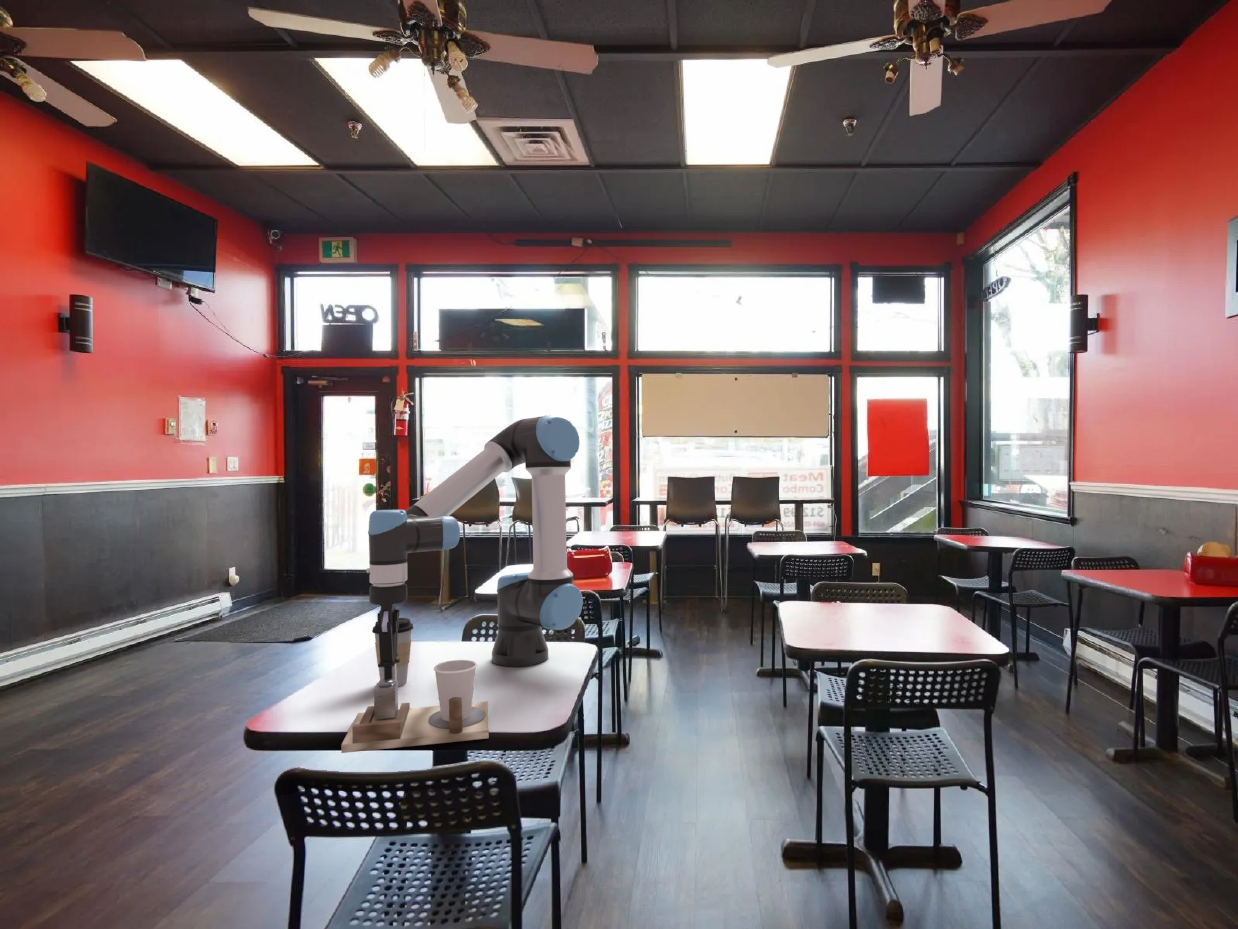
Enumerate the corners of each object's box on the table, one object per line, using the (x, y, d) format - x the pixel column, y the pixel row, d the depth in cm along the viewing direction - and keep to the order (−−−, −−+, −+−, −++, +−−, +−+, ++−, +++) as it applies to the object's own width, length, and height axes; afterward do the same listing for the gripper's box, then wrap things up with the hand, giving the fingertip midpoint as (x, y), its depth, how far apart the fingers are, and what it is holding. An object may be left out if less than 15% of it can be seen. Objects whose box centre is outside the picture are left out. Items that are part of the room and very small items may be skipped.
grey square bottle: (398, 710, 132) (397, 677, 132) (395, 717, 128) (395, 683, 128) (377, 712, 131) (377, 678, 131) (374, 719, 127) (373, 685, 127)
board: (487, 708, 137) (487, 672, 137) (488, 738, 121) (488, 698, 121) (358, 720, 131) (357, 683, 132) (341, 753, 115) (340, 711, 116)
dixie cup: (439, 727, 122) (438, 674, 122) (430, 713, 130) (430, 663, 130) (482, 719, 126) (481, 667, 126) (471, 706, 133) (471, 657, 134)
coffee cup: (401, 691, 149) (400, 626, 149) (364, 689, 151) (363, 625, 151) (421, 678, 158) (420, 617, 159) (386, 676, 160) (386, 616, 160)
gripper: (374, 579, 141) (375, 688, 140) (363, 589, 128) (364, 708, 127) (410, 578, 142) (411, 685, 142) (403, 587, 129) (404, 705, 129)
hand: (389, 696), depth 135 cm, fingers closed
